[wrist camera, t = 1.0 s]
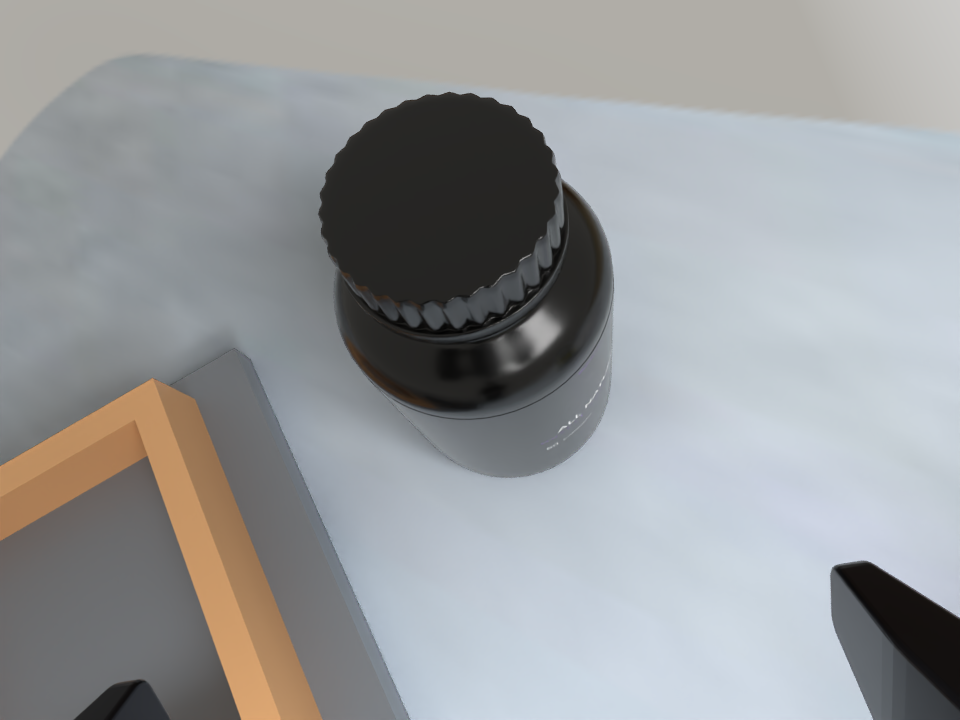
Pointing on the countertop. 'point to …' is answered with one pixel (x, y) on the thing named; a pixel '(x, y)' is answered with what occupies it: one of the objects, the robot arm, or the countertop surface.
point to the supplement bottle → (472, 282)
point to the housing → (179, 566)
